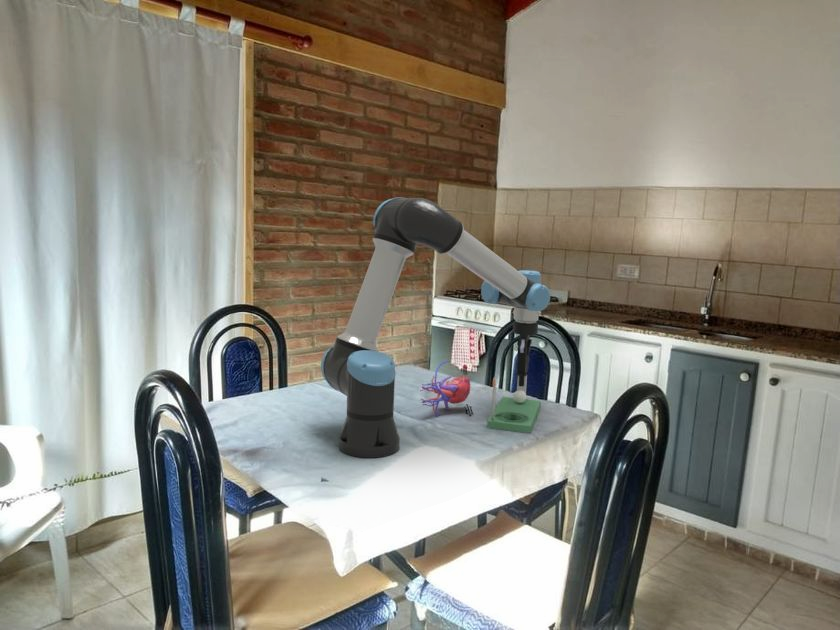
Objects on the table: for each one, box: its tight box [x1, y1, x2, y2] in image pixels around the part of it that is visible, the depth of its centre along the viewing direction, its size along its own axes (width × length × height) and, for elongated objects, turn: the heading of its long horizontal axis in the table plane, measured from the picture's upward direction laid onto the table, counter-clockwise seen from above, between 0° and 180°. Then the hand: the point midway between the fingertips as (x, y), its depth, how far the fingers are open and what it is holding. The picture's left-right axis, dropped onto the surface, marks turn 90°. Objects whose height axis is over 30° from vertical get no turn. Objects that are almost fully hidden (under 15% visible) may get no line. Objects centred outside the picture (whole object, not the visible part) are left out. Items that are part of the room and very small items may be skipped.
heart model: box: [419, 360, 474, 418], centre depth 191 cm, size 17×10×20 cm
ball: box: [512, 390, 527, 403], centre depth 197 cm, size 4×4×4 cm
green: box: [486, 377, 542, 434], centre depth 188 cm, size 27×12×14 cm, turn 164°
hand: (521, 395), depth 201 cm, fingers closed
